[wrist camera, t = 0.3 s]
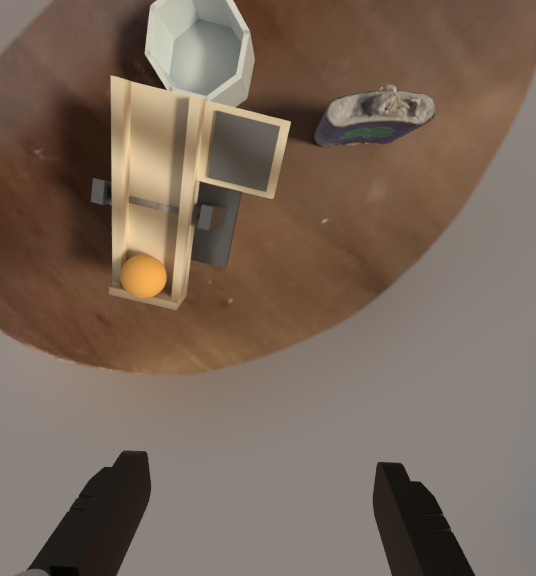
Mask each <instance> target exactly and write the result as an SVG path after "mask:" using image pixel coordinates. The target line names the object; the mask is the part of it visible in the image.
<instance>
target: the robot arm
mask: <svg viewBox="0 0 536 576" xmlns="http://www.w3.org/2000/svg"><path fill="white" fill-rule="evenodd" d="M150 493H151V480H150V473H149V463H148V456H147V453H146V452H145V451H123V452H122V453H121V454H120V455H119V457H118V458H117V460H116V462H115V463H114V465H113V466H112V467H104V468H103V469H102V470H100V471H99V472H98V473H97V474H96V475H95V476H93V477H92V478H91V479H90V480H89V481H88V483H87V484H86V486H85V487H84V489H83V490H82V492H81V493H80V494H79V498H77V499H76V500H75V502H74V503H73V505H72V506H71V507H70V510H69V512H67V513H66V515H65V516H64V518H63V519H62V521H61V522H60V523H59V525H58V526H57V528H56V529H55V531H54V532H53V533H52V535H51V536H50V538H49V539H48V541H47V542H46V544H45V545H44V546H43V548H42V550H41V551H40V552H39V554H38V556H37V557H36V558H35V560H34V561H33V562H32V564H31V565H30V566H29V568H28V569H27V570H26V571H23V572H21V573H19V574H17V575H15V576H116V575H117V573H118V571H119V569H120V566H121V564H122V562H123V560H124V557H125V555H126V553H127V550H128V548H129V546H130V543H131V541H132V539H133V537H134V535H135V532H136V530H137V528H138V526H139V523H140V521H141V519H142V517H143V514H144V512H145V510H146V507H147V505H148V502H149V498H150ZM373 509H374V515H375V519H376V522H377V526H378V530H379V533H380V536H381V540H382V543H383V547H384V550H385V553H386V557H387V560H388V563H389V567H390V570H391V574H392V576H475V574H474V573H473V570H472V569H471V567H470V565H469V563H468V561H467V559H466V557H465V555H464V553H463V551H462V549H461V547H460V545H459V543H458V541H457V540H456V538H455V536H454V534H453V532H451V528H450V526H449V524H448V522H447V520H446V518H445V517H444V516H443V512H442V510H441V508H440V507H439V505H438V503H437V501H436V499H435V497H434V496H433V495H432V494H431V493H430V491H429V490H428V489H427V488H426V487H425V486H424V485H423V484H422V483H421V482H414V481H410V479H409V476H408V474H407V472H406V470H405V468H404V466H403V465H402V464H401V463H390V462H378V463H377V468H376V475H375V483H374V491H373Z"/></svg>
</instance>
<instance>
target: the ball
mask: <svg viewBox="0 0 536 576" xmlns="http://www.w3.org/2000/svg"><path fill="white" fill-rule="evenodd" d="M120 280H121V284H122V286H123V288H124V289H125V290H126V291H127V292H128V293H129V294H131V295H132V296H135V297H138V298H149V297H153V296H155V295H157V294H158V293H159V292H160V291H161V290H162V289H163V288H164V286H165V284H166V280H167V274H166V270H165V267H164V266H163V264H162V263H161V262H160V261H159V260H158V259H156V258H154V257H152V256H149V255H137V256H134V257H132V258H130V259H129V260H127V261H126V262H125V263H124V265H123V266H122V269H121V272H120Z"/></svg>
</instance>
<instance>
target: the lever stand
mask: <svg viewBox="0 0 536 576" xmlns="http://www.w3.org/2000/svg"><path fill="white" fill-rule="evenodd" d="M241 195H242V191H238V190H234V189H229V188H225V187H221V186H217V185H213V184H209V183H205V182H201V181H200V183H199V191H198V200H197V207H198V208H201V212H200V217H199V221H195V226H194V234H193V243H192V251H191V260H195V261H199V262H204V263H208V264H212V265H216V266H220V267H224V268H225V267H226V266H227V263H228V258H229V253H230V248H231V243H232V238H233V233H234V229H235V224H236V219H237V214H238V209H239V204H240V199H241ZM91 202H93V203H97V204H102V205H112V181H108V180H102V179H96V178H93V184H92V195H91Z"/></svg>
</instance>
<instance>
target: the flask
mask: <svg viewBox="0 0 536 576" xmlns="http://www.w3.org/2000/svg"><path fill="white" fill-rule="evenodd" d="M385 88H386V90H382V89H383V87H380V88H379V90H378V91H368V92H363V93H357V94H352V95H347V96H343V97H340V98H337V99H335V100H333V101H331V102H330V103H329V105H328V107H327V109H326V111H325V113H324V115H323V117H322V119H321V121H320V124H319V125H318V127H317V128H316V130H315V136H314V137H315V141H316V143H317V144H318V145H320V146H323V147H333V146H334V145H345V146H352V145H353V146H355V145H357V144H359V143H365V145H366V144H368V143H375V144H389V143H391V142H393V141H394V140H395V139H398V138H399V137H402V136H403V135H406V134H407V133H409V132H411V131H413V130H415V129H417V128H419V127H421V126H423V125H425V124H426V123H428V122H429V121H430V120H431V119H433V118H434V116H435V103H434V101H433V99H432V97H430V96H428V95H426V94H422V93H415V92H408V91H401V90H397V89H396V87H395V86H393V85H390V84H389V85H386V87H385Z"/></svg>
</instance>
